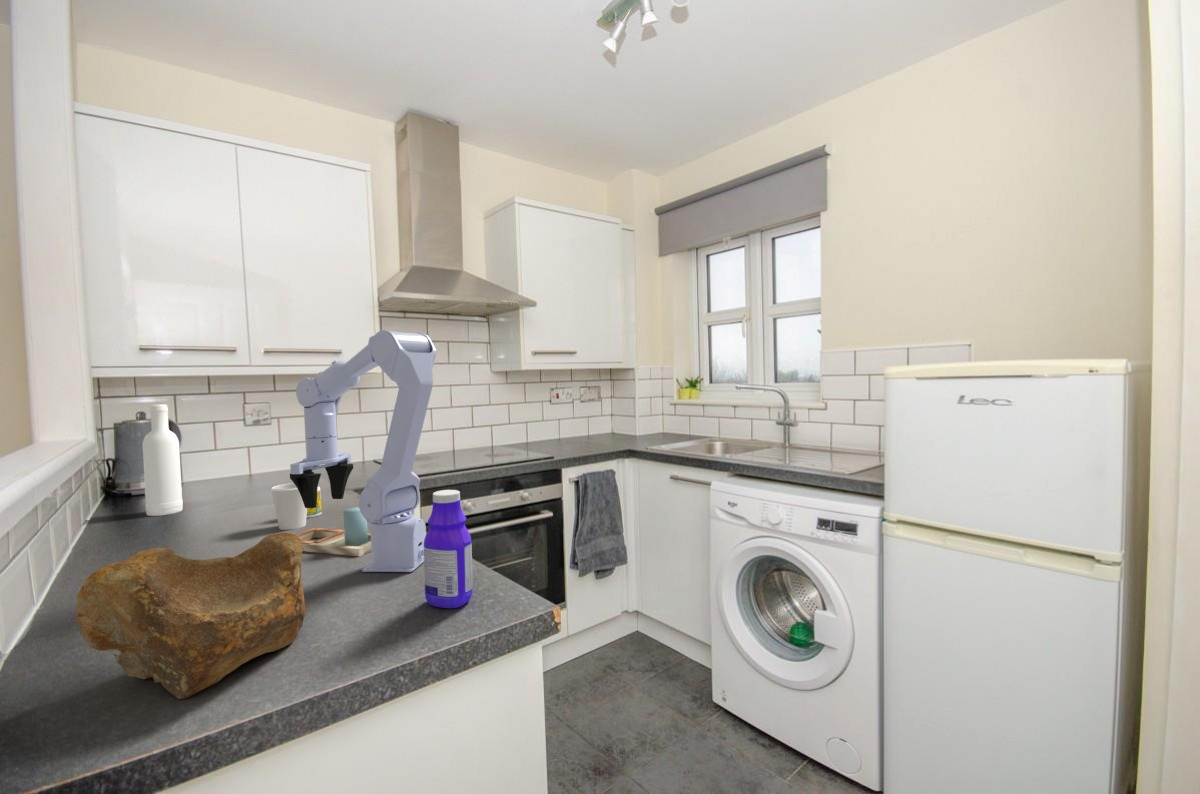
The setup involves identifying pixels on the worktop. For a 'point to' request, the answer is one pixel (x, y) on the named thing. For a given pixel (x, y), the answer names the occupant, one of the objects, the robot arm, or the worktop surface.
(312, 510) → the supplement bottle
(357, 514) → the peg
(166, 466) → the bottle
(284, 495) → the dixie cup
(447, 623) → the worktop surface
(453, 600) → the bottle
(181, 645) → the rough brown rock
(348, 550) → the wooden slot frame
